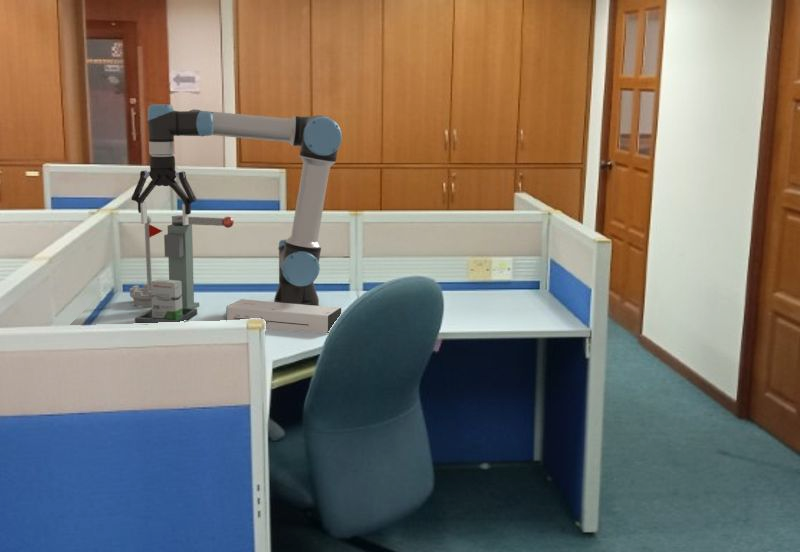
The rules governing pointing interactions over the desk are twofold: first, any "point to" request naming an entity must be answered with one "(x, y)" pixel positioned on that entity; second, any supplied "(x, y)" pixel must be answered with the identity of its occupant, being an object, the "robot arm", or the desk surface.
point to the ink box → (166, 299)
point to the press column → (181, 260)
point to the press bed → (148, 318)
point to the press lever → (204, 221)
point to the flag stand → (144, 294)
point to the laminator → (285, 315)
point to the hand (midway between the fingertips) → (165, 224)
